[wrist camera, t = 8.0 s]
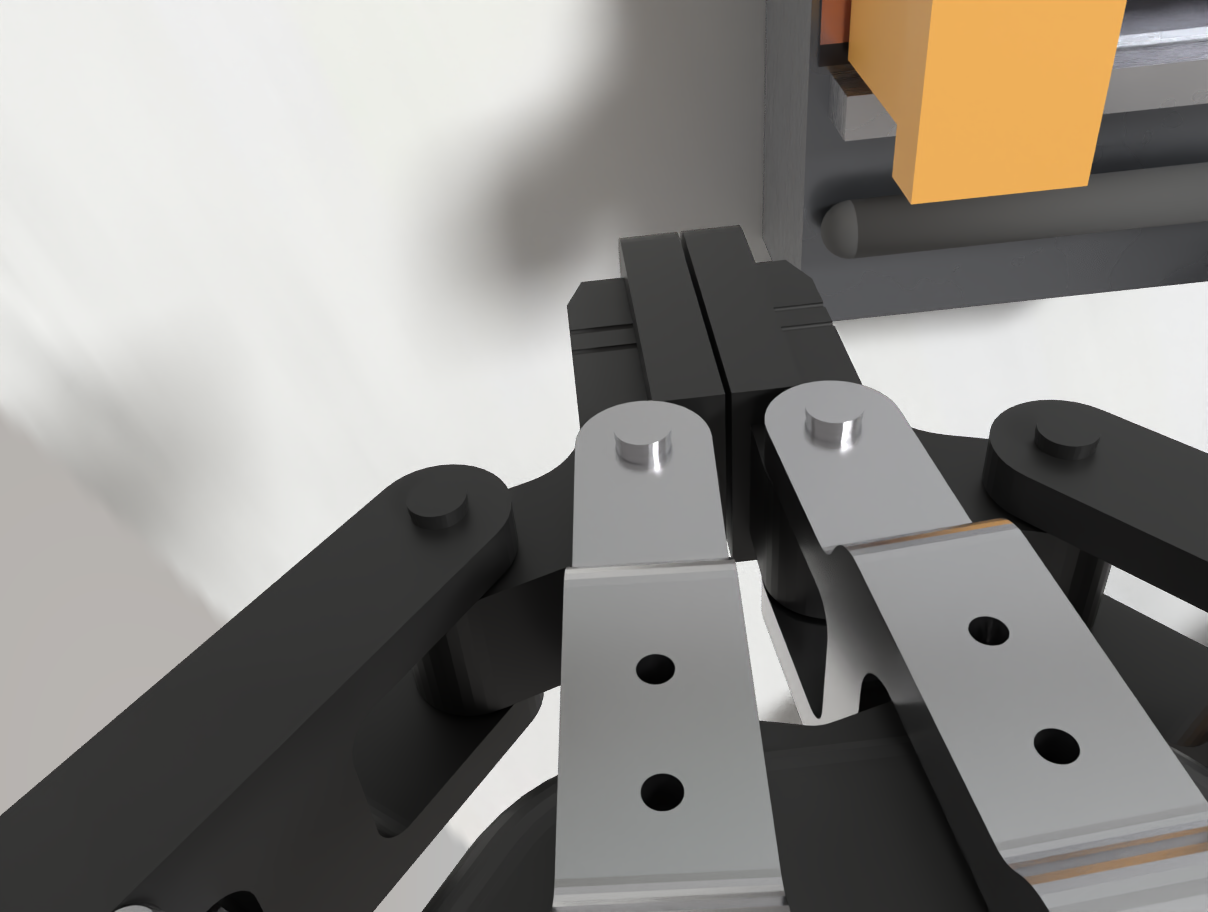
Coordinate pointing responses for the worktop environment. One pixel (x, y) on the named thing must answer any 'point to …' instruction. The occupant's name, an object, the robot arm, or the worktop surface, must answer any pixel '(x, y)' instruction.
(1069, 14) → the breaker handle
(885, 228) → the dressed cables
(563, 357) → the worktop surface
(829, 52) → the breaker box
